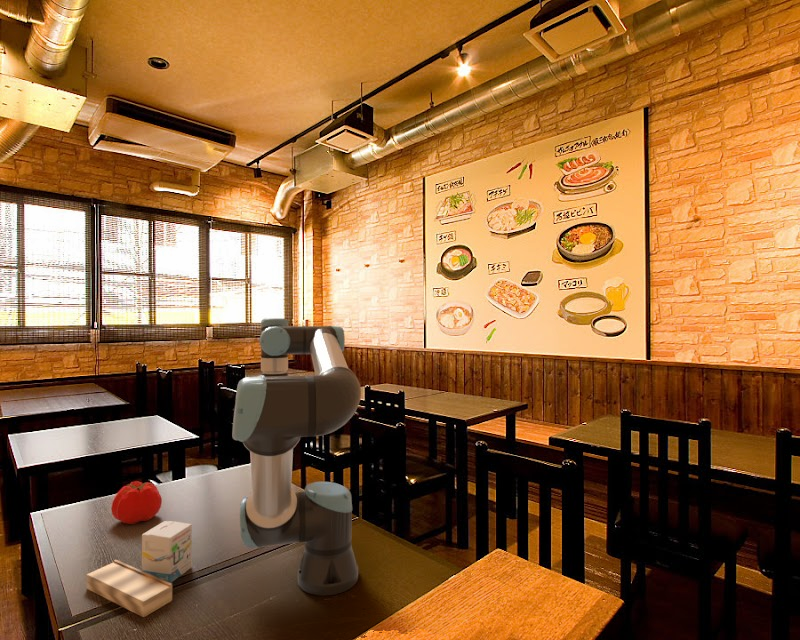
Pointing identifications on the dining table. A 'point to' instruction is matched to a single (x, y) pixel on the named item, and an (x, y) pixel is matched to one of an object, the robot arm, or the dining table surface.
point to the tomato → (136, 502)
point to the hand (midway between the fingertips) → (274, 454)
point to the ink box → (167, 550)
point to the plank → (130, 587)
